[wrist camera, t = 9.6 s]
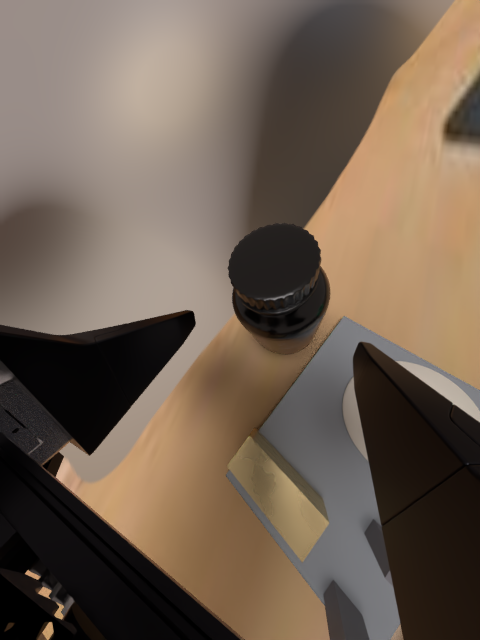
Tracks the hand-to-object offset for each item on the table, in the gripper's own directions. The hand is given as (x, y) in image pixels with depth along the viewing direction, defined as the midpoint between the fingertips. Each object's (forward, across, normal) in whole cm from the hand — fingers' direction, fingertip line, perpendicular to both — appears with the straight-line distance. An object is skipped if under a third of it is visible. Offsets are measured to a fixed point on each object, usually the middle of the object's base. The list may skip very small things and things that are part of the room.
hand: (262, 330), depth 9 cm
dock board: (+3, -8, +12) cm, 14 cm away
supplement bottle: (+10, 0, +5) cm, 11 cm away
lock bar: (-1, -2, +14) cm, 14 cm away
